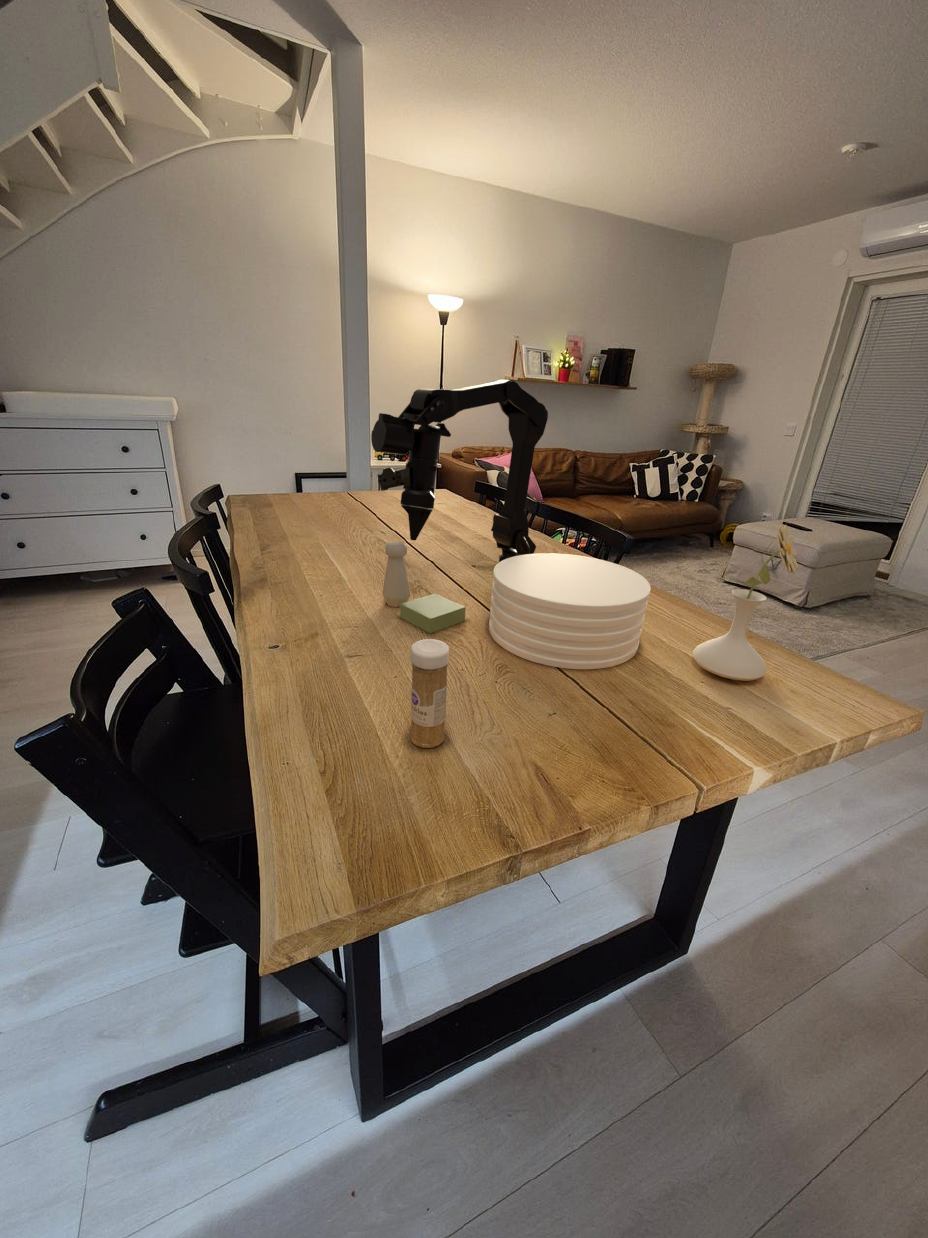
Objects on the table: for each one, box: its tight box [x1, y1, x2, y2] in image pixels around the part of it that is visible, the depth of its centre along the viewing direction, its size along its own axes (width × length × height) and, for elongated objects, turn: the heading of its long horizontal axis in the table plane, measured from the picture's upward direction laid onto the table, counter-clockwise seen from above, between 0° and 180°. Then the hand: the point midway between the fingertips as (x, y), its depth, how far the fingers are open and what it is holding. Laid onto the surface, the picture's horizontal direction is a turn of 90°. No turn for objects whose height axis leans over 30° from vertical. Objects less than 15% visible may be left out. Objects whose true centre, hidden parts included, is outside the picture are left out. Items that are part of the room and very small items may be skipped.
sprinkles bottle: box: [409, 638, 450, 749], centre depth 62 cm, size 5×5×14 cm
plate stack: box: [488, 552, 651, 670], centre depth 93 cm, size 28×28×12 cm
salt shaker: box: [382, 541, 411, 608], centre depth 102 cm, size 6×6×13 cm
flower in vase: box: [692, 523, 799, 682], centre depth 81 cm, size 13×11×25 cm
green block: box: [399, 593, 467, 634], centre depth 98 cm, size 9×9×3 cm
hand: (413, 535), depth 104 cm, fingers open, 9 cm apart
